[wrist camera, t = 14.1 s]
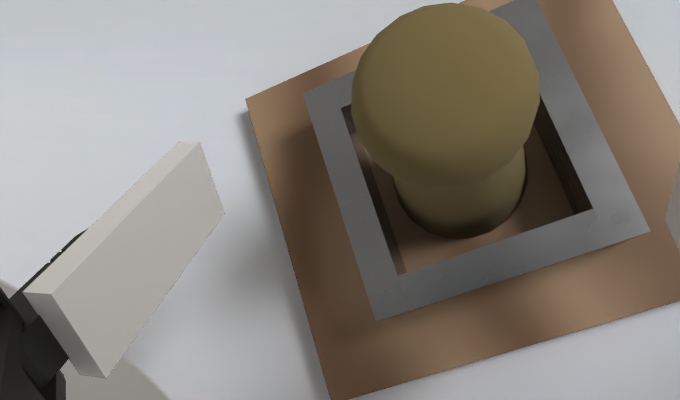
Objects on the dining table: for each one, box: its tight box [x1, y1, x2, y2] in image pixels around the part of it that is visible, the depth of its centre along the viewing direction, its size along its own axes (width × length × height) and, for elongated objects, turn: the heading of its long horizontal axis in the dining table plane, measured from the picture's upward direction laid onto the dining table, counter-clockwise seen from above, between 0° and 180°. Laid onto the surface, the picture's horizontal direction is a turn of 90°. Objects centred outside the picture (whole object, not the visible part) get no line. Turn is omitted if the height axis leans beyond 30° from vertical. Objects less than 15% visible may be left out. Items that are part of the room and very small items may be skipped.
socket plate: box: [245, 0, 680, 400], centre depth 22 cm, size 18×16×4 cm
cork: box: [351, 3, 540, 238], centre depth 18 cm, size 6×6×11 cm
